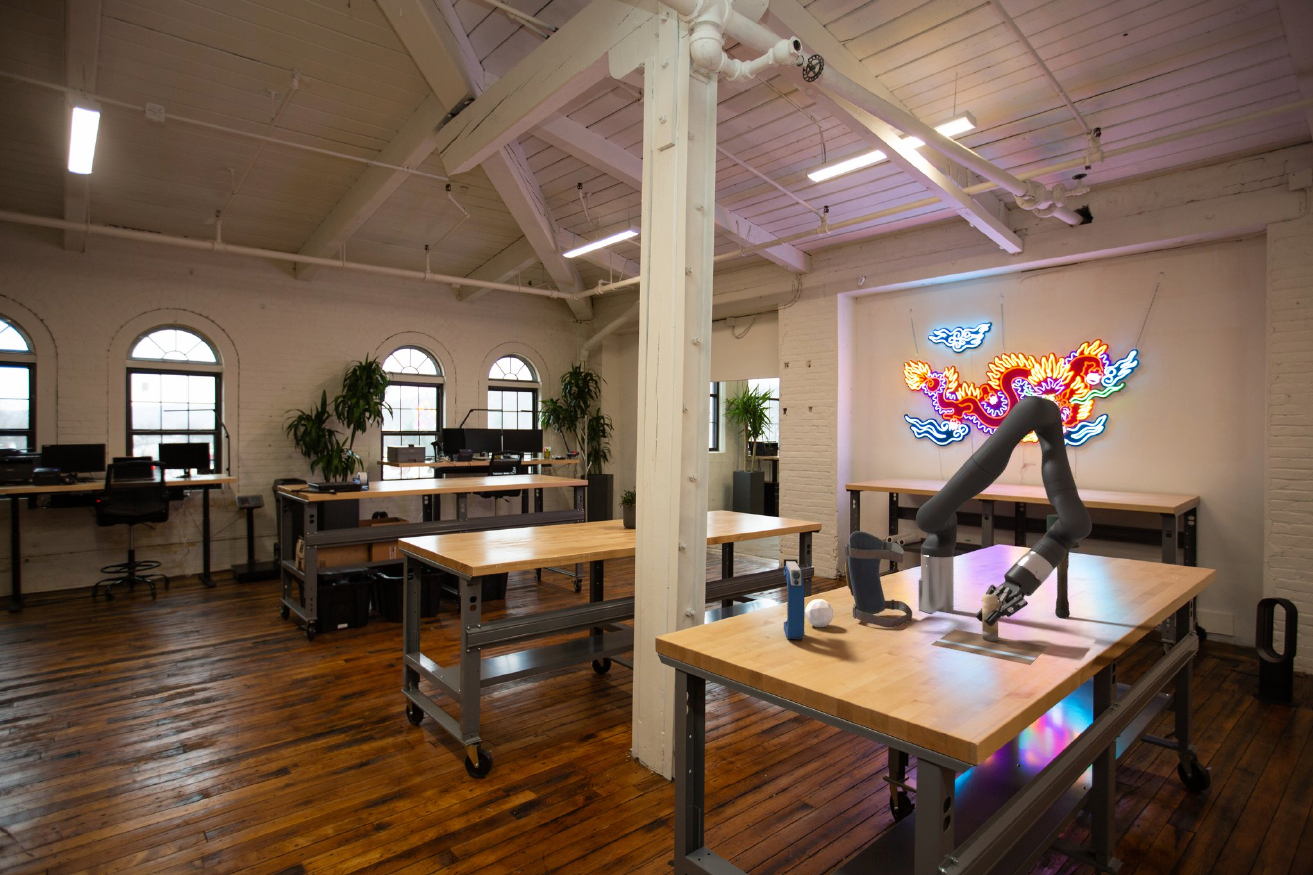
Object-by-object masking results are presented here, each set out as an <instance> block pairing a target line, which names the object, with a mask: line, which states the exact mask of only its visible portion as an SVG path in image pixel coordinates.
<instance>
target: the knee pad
mask: <svg viewBox="0 0 1313 875" xmlns="http://www.w3.org/2000/svg"><path fill="white" fill-rule="evenodd" d="M844 551H845V552H844V553H845V554H844V555H845V557H846V561H845V564H844V572H843V574H844V575H845V578H844V580H845V582H846V585H847V588H848V589H849V590H850V595H851V596H853V599H854V603H853V606H852V617H853V618H854V619H857V620H859V621H860V622H864V623H867V624H873V625H876V626H880V627H882V628H889V629H890V628H896V627H900V626H903V625H905V624H907V623H910V622H912V620H913V610H912V609H911V607H910V606H909V605H908V604H907V603H905V602H904V601H901V600H895V599H890V600H886V599H885V595H884V590H883V587H882V581H881V577H880V565H881V560H887V561H888V560H889V561H892V562H895V563H897V564H898V563H899V564H902V563H904V554H905V553H904V549H903V547H902V546H901V544H899V543H897V542H892V541H886V540H882V539H880V538H879V537H877V536H875V535H873V534H871V533H868V532H865V531H860V530H856V531H853V532H852V533H851V534H850V535H849V539H848V543H845V546H844ZM886 609H887V610H891V611H895V610H896V611H897V610H898V611H901V612H903V613H905V614H904V615H902V616H899V617H895V618H886V617H882V616H878V615H877V614H880V613H881V612H884V611H885V610H886Z"/></svg>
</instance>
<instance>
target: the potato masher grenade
mask: <svg viewBox="0 0 1313 875" xmlns="http://www.w3.org/2000/svg"><path fill="white" fill-rule="evenodd" d="M1058 519H1059V516H1058V513H1055V514H1047V515H1046V532H1047V531H1048V530H1049V529H1050V527H1051V526H1052V525H1053V524H1054V523H1055V522H1056V521H1057V520H1058ZM1078 548H1080V544H1079V541H1078V542H1077V543H1076V544H1075V545H1074V546H1073V547H1072V548H1071V549H1078ZM1069 556H1070V550H1069V551H1068V552H1067V553H1066V556H1065V558H1064V559H1063V560H1062V562H1061V563H1060V564H1059V565H1058V566H1057V567H1056V575H1057V576H1056V595H1057V596H1056V601H1055V610H1054V613H1055V616H1056V617H1057V618H1061V619H1068V618H1070V616H1071V615H1070V614H1071V613H1070V603H1069V598H1068V596H1069V593H1068V590H1069V589H1068V587H1069V584H1068V579H1069V577H1068V576H1069V575H1068V574H1069V573H1068V571H1069V567H1070V565H1069V562H1070V561H1069V560H1070V558H1069Z"/></svg>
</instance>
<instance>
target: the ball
mask: <svg viewBox="0 0 1313 875" xmlns="http://www.w3.org/2000/svg"><path fill="white" fill-rule="evenodd" d="M834 616H835V615H834V608H833V607H832V605H831V603H830V602H828V601H826V600H825V599H824V598H823V599H821V598H819V599H813V600H811V601H810V602H809V603H808V604H807V606H806V607H805V618H806V619H807V622H808V623H809V624H810V625H812V626H814V627H815V628H825V627H827V626H829V625H830V624H831V622H832V621H833V619H834V618H835V617H834Z"/></svg>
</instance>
